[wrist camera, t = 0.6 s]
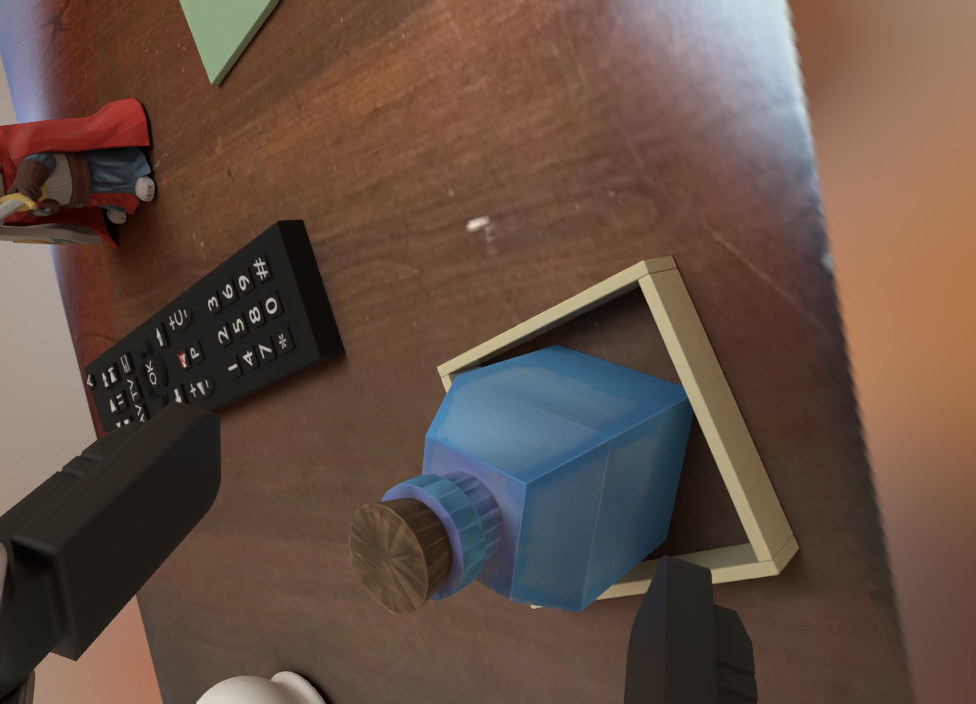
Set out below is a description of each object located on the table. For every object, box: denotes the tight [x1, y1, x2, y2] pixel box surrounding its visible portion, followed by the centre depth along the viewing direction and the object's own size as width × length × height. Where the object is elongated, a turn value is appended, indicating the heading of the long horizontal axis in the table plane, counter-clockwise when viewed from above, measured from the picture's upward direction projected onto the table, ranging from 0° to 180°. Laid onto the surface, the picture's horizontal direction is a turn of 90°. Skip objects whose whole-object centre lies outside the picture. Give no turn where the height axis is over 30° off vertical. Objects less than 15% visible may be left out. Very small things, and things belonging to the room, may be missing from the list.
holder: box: [437, 256, 799, 609], centre depth 27 cm, size 11×11×2 cm
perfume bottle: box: [349, 345, 694, 615], centre depth 24 cm, size 6×6×12 cm
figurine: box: [0, 98, 155, 249], centre depth 45 cm, size 13×12×15 cm
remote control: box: [85, 220, 345, 435], centre depth 48 cm, size 8×32×2 cm, turn 114°
